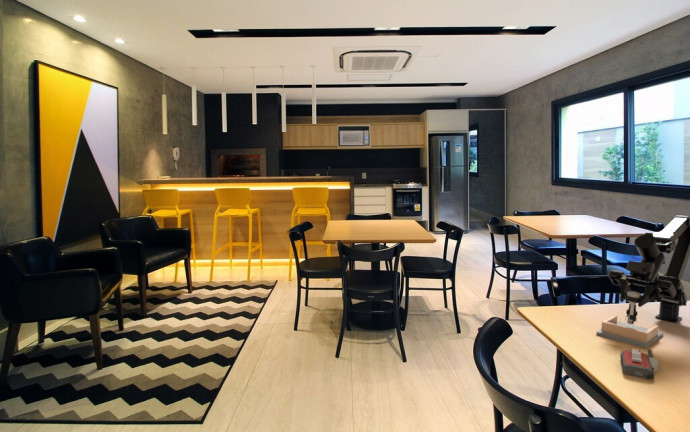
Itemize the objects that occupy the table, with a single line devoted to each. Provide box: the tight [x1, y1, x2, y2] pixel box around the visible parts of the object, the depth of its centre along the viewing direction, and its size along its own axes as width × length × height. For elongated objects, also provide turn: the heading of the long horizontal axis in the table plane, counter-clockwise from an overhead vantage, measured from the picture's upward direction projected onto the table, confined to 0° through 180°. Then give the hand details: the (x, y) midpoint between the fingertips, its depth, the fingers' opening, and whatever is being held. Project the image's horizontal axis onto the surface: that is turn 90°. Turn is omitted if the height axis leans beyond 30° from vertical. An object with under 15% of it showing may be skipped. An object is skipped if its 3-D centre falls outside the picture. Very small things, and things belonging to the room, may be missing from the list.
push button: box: [624, 290, 643, 325], centre depth 140 cm, size 7×5×10 cm
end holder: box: [595, 314, 664, 349], centre depth 140 cm, size 16×14×4 cm
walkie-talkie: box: [619, 348, 659, 380], centre depth 120 cm, size 9×4×20 cm
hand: (629, 303), depth 139 cm, fingers closed on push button, 5 cm apart
